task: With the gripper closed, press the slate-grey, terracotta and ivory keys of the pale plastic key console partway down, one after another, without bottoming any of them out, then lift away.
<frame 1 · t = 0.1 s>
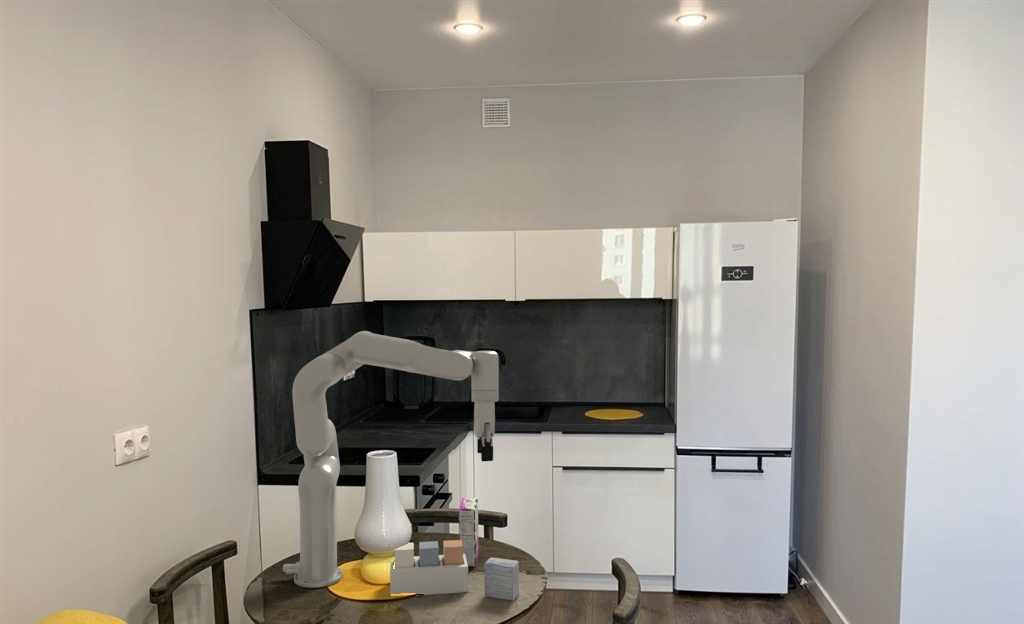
hand: (485, 456, 184), 31 cm above the table, fingers open, 9 cm apart
key console: (428, 587, 172), on the table
medicine box: (501, 596, 167), on the table
ivory key: (404, 558, 171), point 8 cm above the table, slide at 0.0 cm
terracotta key: (453, 555, 173), point 8 cm above the table, slide at 0.0 cm
slate key: (428, 556, 172), point 8 cm above the table, slide at 0.0 cm
candy bar box: (468, 560, 191), on the table
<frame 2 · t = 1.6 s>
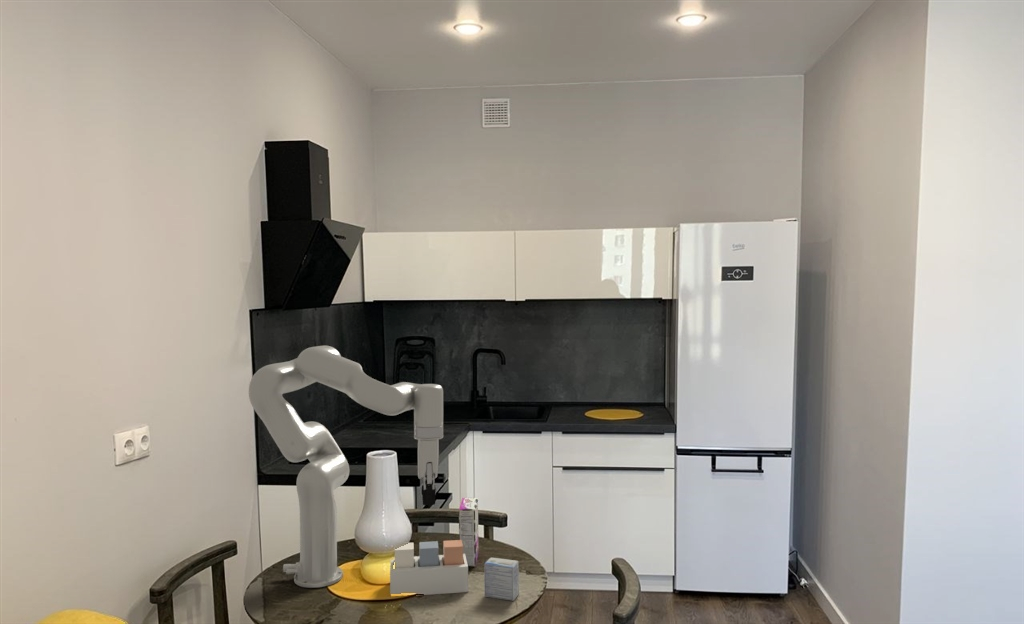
hand: (428, 502, 172), 22 cm above the table, fingers closed
nothing on the table moved.
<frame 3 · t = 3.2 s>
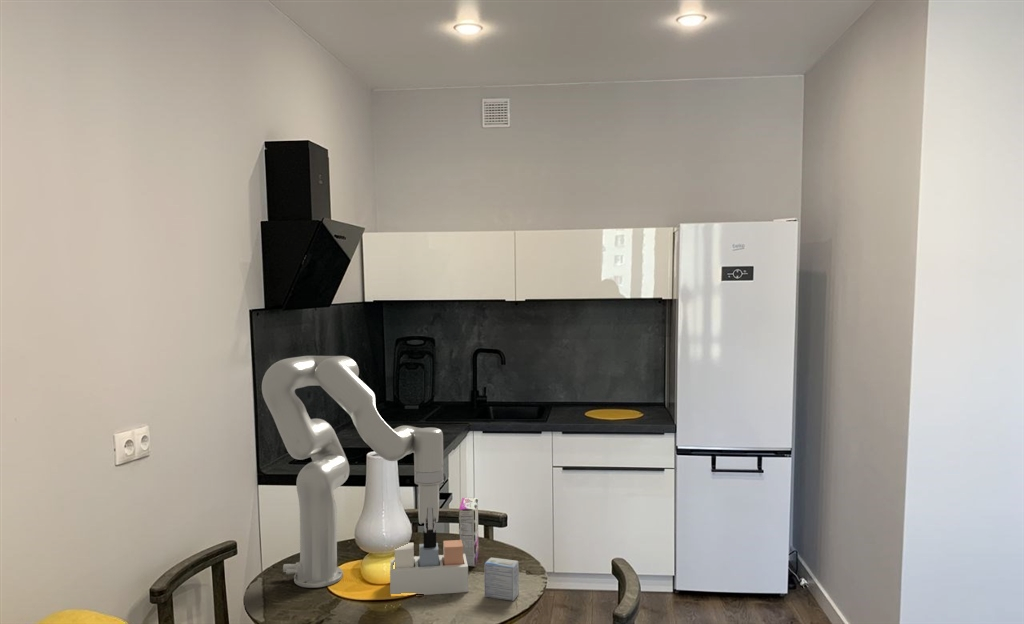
hand: (429, 546, 172), 11 cm above the table, fingers closed
slate key: (428, 558, 172), point 7 cm above the table, slide at 0.4 cm, touching gripper
everything else where it was.
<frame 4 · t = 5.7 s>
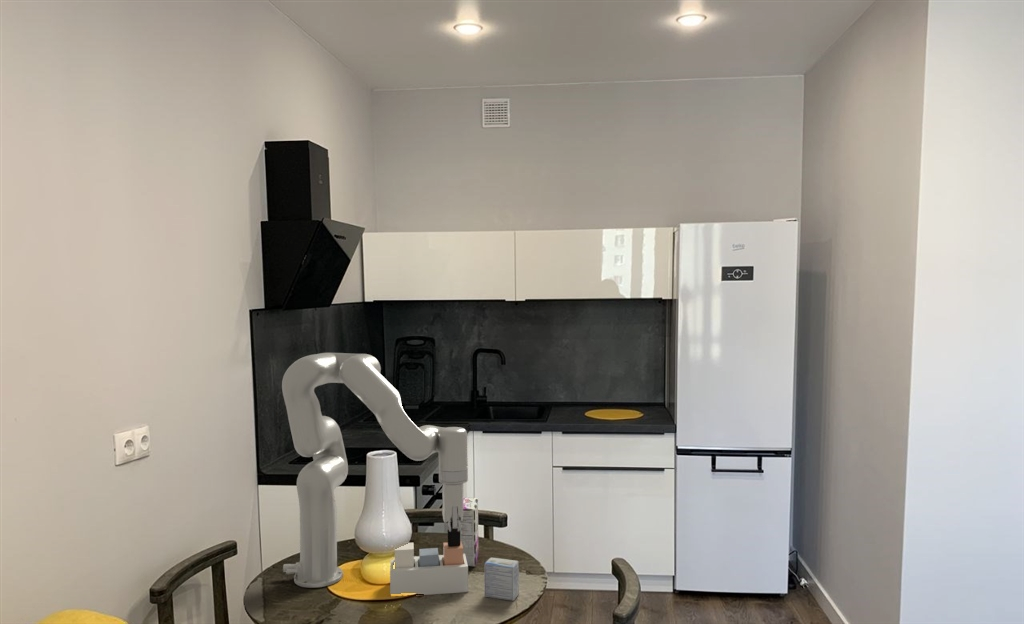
hand: (454, 545, 173), 11 cm above the table, fingers closed
terracotta key: (453, 557, 173), point 7 cm above the table, slide at 0.5 cm, touching gripper
slate key: (428, 563, 172), point 6 cm above the table, slide at 1.8 cm
everything else where it was.
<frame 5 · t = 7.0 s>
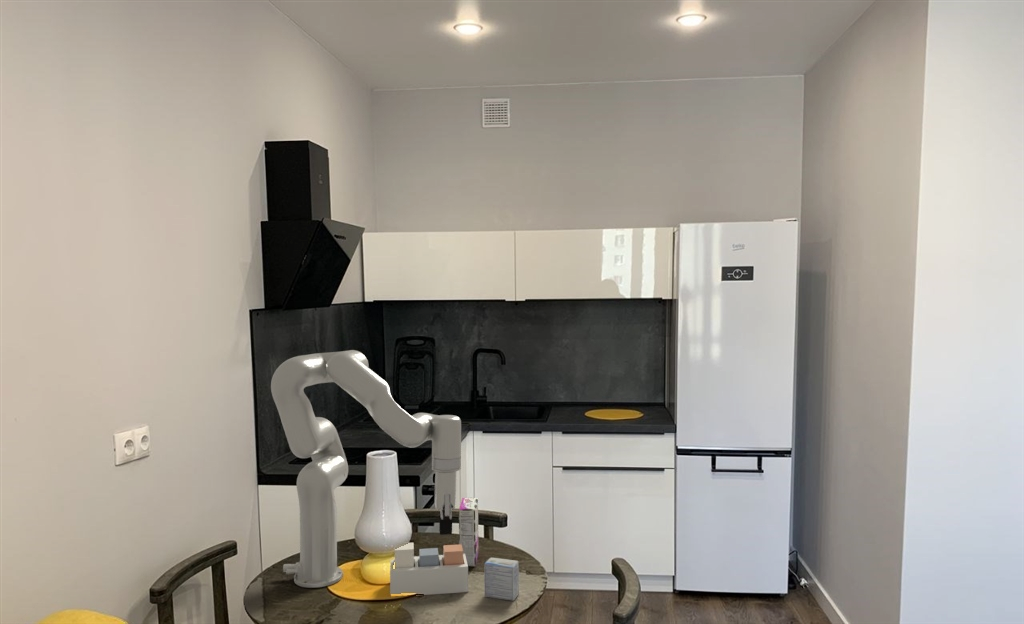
hand: (445, 533, 173), 14 cm above the table, fingers closed
terracotta key: (453, 559, 173), point 7 cm above the table, slide at 1.2 cm
everything else where it was.
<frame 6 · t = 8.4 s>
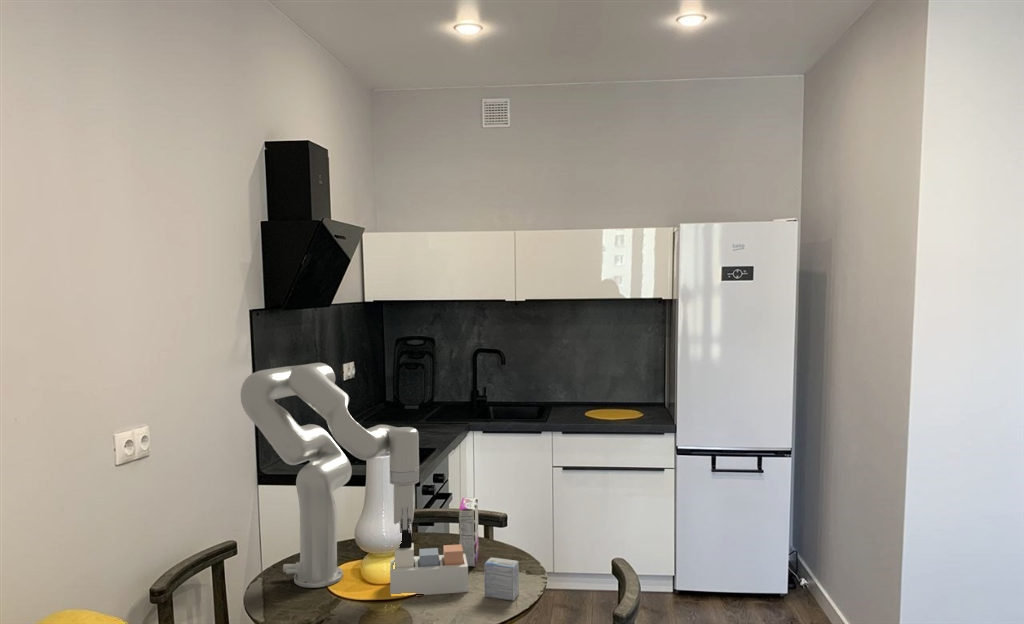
hand: (405, 546, 171), 11 cm above the table, fingers closed
ivory key: (404, 558, 171), point 8 cm above the table, slide at 0.1 cm, touching gripper
everything else where it was.
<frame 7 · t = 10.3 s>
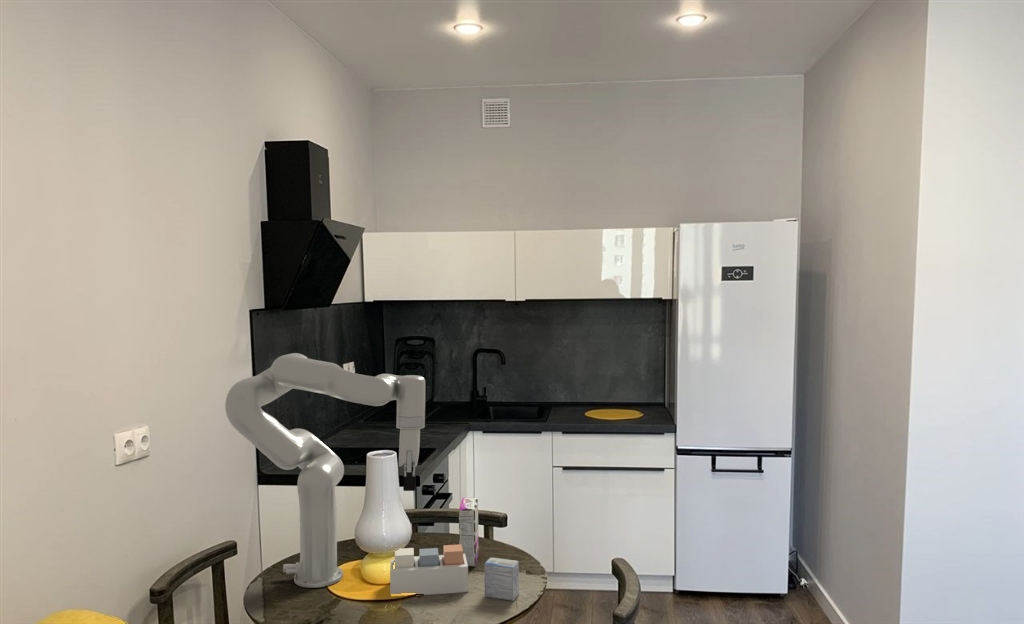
hand: (409, 489, 178), 24 cm above the table, fingers closed
ivory key: (404, 563, 171), point 6 cm above the table, slide at 1.4 cm
everything else where it was.
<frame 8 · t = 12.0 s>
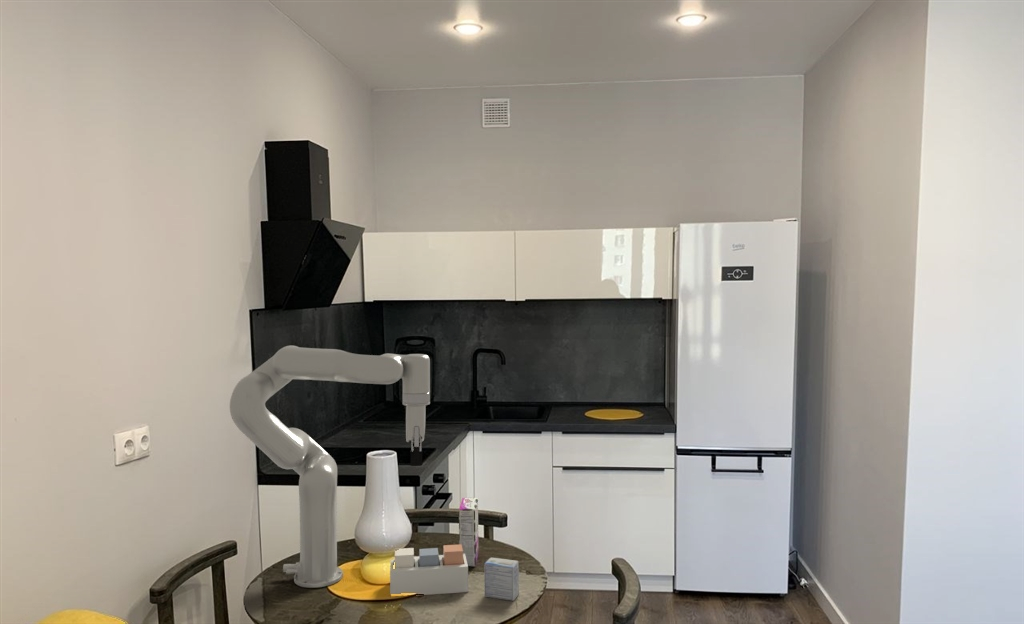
hand: (416, 464, 183), 29 cm above the table, fingers closed
nothing on the table moved.
at the end: slate key slide at 1.8 cm; terracotta key slide at 1.2 cm; ivory key slide at 1.4 cm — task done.
